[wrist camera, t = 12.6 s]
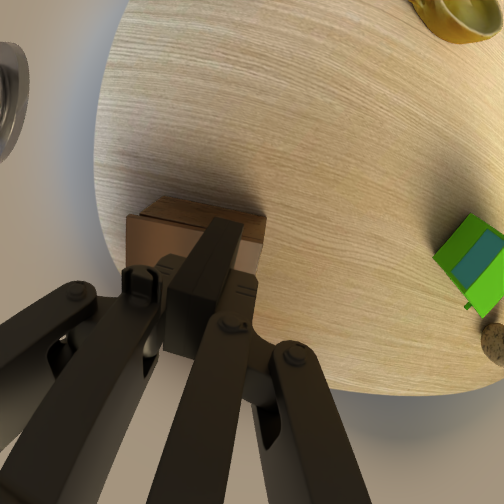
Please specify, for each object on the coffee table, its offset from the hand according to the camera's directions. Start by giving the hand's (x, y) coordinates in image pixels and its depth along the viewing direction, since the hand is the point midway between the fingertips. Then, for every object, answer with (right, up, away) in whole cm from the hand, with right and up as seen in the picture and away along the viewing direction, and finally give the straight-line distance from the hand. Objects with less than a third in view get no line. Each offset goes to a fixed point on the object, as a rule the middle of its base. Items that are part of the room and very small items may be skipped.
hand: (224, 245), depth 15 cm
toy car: (+32, -1, +19) cm, 37 cm away
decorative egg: (+44, -14, +23) cm, 52 cm away
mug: (+23, +29, +5) cm, 37 cm away
